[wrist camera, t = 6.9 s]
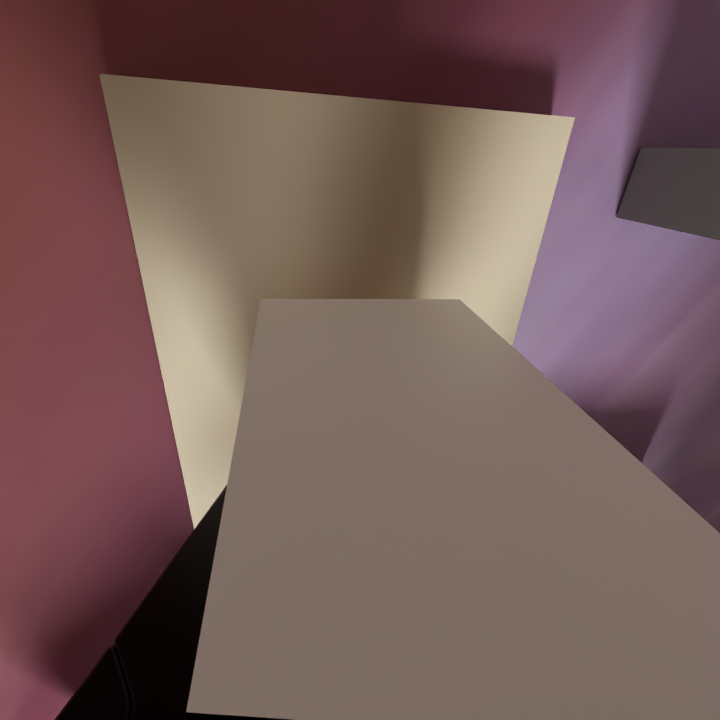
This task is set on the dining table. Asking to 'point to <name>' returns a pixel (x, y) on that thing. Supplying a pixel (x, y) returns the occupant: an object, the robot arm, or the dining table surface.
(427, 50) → the dining table surface
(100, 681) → the robot arm
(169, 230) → the birch board
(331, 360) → the white block
